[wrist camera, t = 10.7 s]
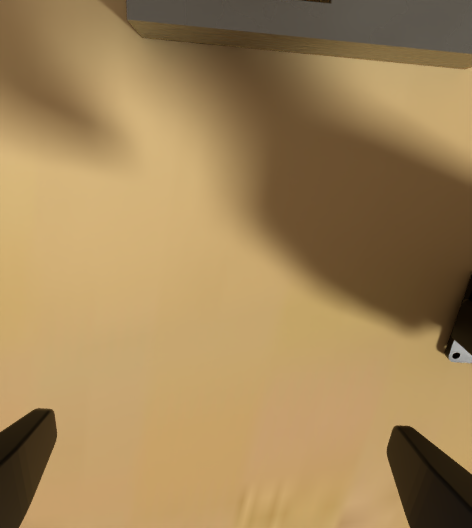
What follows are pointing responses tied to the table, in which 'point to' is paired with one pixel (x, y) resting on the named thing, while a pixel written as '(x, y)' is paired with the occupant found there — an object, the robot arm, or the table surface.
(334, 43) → the panel
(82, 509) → the table surface
